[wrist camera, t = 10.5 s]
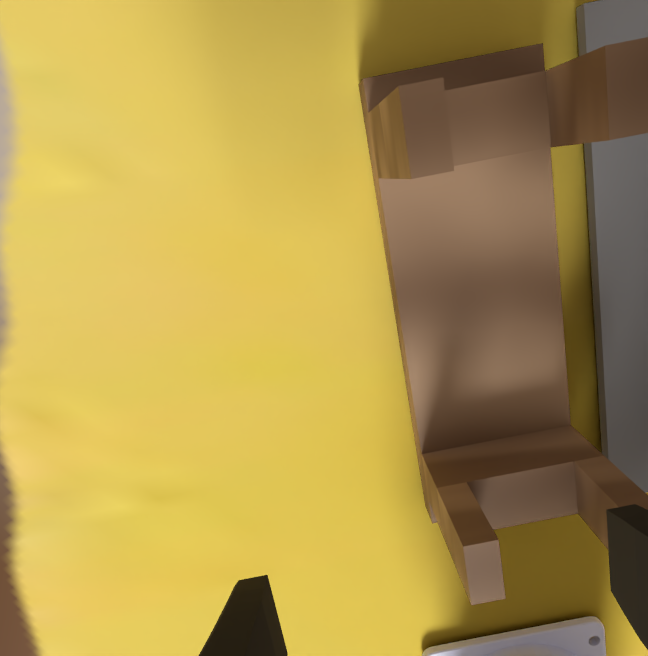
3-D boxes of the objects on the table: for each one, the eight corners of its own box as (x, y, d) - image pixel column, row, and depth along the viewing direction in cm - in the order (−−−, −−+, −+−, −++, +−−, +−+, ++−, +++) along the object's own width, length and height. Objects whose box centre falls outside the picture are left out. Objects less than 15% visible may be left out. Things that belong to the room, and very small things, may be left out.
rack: (561, 478, 22) (664, 596, 16) (425, 505, 22) (474, 632, 16) (526, 51, 18) (649, -15, 12) (358, 85, 18) (391, 36, 12)
